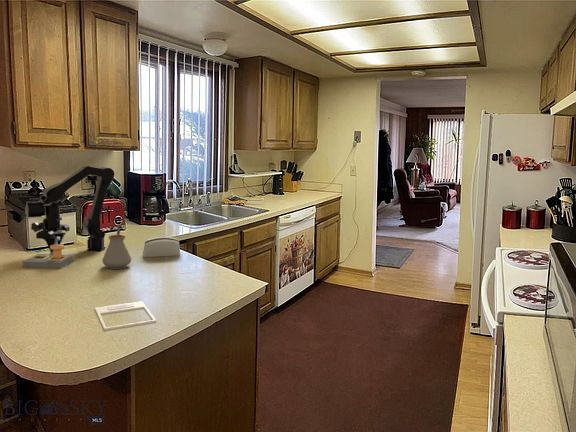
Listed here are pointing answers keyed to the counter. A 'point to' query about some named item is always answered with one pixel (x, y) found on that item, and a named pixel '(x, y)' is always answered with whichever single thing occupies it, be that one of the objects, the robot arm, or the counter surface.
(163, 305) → the counter surface
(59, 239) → the blue peg
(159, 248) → the grey arched block
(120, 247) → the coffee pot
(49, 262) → the block
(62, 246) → the jaw orange
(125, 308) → the photo frame
